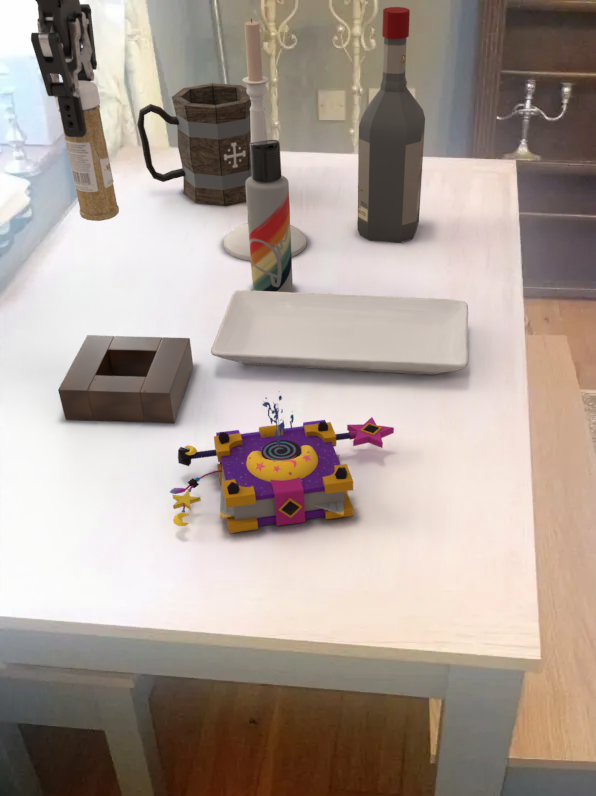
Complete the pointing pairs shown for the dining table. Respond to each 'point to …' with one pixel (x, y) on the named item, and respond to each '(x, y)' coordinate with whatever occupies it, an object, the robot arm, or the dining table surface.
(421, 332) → the tray
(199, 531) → the dining table surface
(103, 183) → the sprinkles bottle
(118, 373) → the hollow square block
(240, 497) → the book
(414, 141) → the liquor
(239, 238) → the candlestick
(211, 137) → the mug
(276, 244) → the lotion bottle
